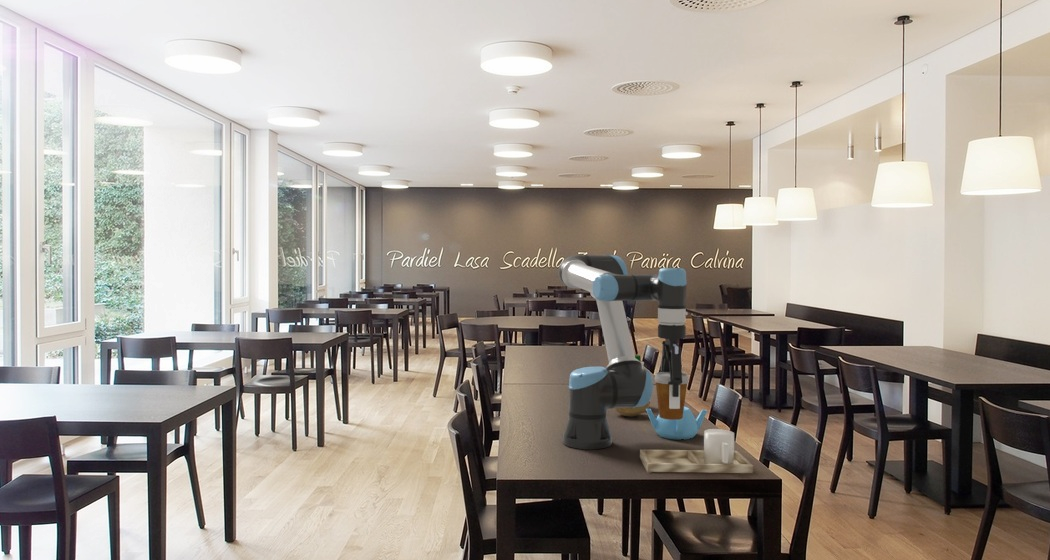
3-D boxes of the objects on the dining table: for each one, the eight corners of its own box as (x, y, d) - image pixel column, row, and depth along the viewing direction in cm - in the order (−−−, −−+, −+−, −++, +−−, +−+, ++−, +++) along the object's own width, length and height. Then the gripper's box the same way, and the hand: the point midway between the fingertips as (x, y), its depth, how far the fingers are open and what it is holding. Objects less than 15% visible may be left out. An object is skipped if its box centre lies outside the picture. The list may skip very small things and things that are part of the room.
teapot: (642, 434, 220) (642, 401, 220) (669, 427, 231) (670, 396, 230) (681, 444, 209) (681, 409, 209) (708, 436, 219) (708, 403, 219)
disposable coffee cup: (683, 413, 190) (683, 371, 190) (692, 421, 181) (693, 377, 180) (650, 413, 190) (650, 371, 190) (657, 421, 180) (658, 376, 180)
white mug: (710, 472, 179) (711, 438, 178) (700, 460, 189) (701, 428, 189) (740, 472, 178) (741, 439, 178) (729, 460, 189) (729, 429, 189)
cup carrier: (647, 473, 179) (647, 464, 179) (639, 458, 193) (639, 449, 193) (753, 474, 178) (753, 465, 178) (737, 459, 192) (737, 450, 192)
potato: (652, 418, 242) (652, 397, 242) (614, 418, 242) (614, 396, 242) (646, 413, 252) (647, 391, 252) (609, 412, 252) (610, 391, 252)
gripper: (694, 327, 174) (693, 413, 174) (677, 320, 196) (676, 396, 196) (665, 327, 174) (664, 413, 174) (651, 320, 196) (650, 396, 196)
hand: (670, 404), depth 185 cm, fingers closed on disposable coffee cup, 9 cm apart
